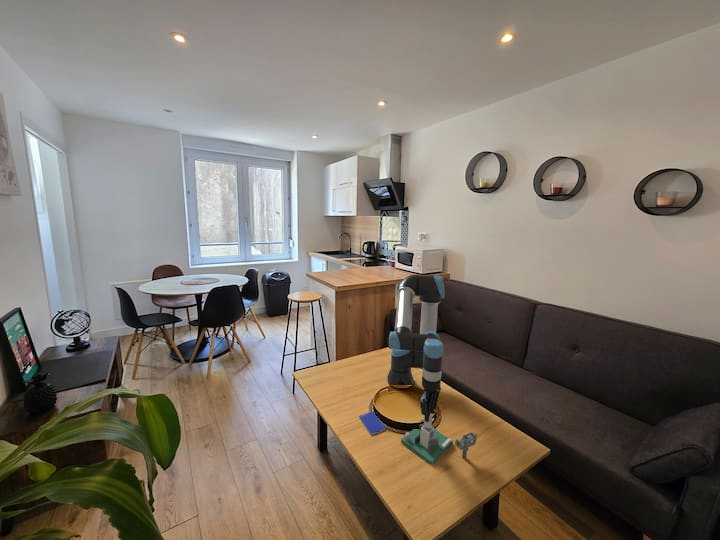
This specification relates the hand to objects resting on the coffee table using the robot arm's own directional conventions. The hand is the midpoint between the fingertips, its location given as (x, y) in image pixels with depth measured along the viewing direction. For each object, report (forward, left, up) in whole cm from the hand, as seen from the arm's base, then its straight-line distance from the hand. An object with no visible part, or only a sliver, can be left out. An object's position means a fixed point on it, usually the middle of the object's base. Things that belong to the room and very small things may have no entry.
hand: (427, 426), depth 128 cm
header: (0, 0, -9) cm, 9 cm away
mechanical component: (-7, +14, -11) cm, 19 cm away
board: (-2, -1, -11) cm, 11 cm away
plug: (0, 0, -9) cm, 9 cm away
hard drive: (+7, -26, -11) cm, 29 cm away
